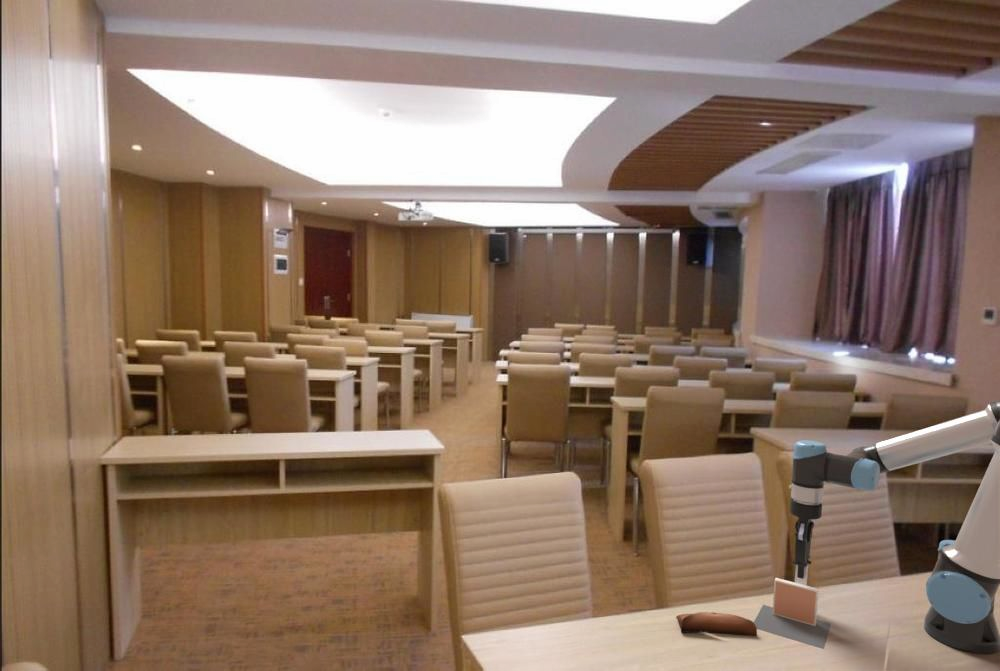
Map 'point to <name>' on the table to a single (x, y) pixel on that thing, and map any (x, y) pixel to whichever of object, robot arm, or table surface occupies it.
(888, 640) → the table surface
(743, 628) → the sunglasses case
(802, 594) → the tile
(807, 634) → the mat
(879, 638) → the table surface
